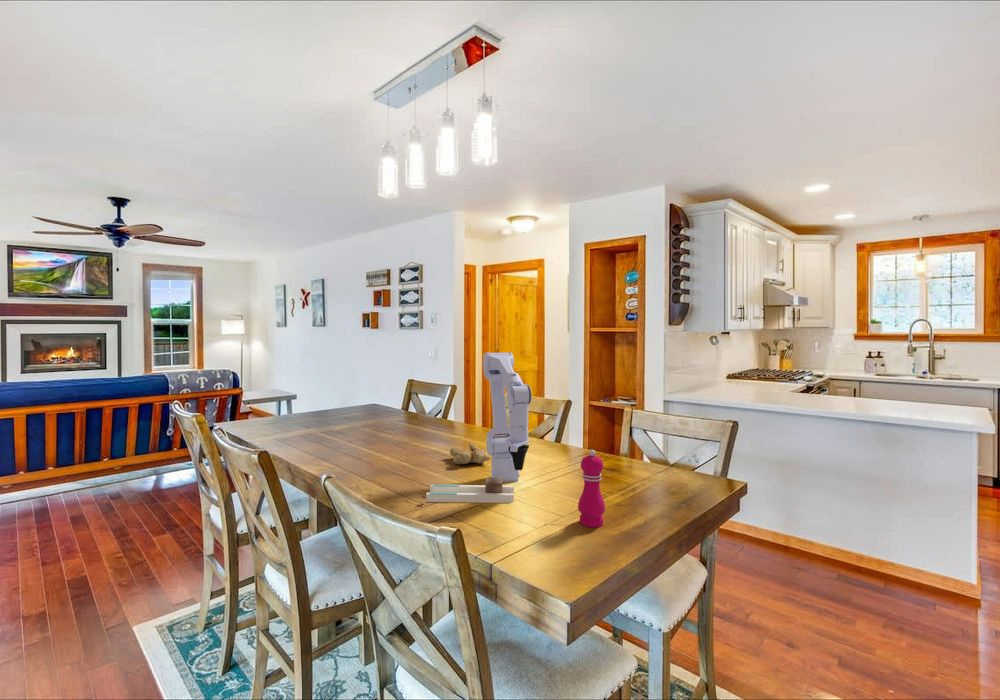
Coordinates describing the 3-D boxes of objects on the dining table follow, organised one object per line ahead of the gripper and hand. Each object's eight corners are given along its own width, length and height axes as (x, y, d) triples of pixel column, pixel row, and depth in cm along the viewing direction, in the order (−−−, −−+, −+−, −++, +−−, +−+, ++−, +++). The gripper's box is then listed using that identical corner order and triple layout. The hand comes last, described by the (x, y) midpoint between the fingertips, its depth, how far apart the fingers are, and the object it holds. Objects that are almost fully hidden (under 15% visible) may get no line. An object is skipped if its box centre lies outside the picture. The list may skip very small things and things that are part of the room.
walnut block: (502, 493, 156) (502, 478, 156) (502, 499, 151) (502, 483, 151) (486, 493, 156) (486, 477, 156) (485, 499, 151) (485, 483, 151)
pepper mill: (586, 515, 141) (587, 445, 140) (609, 522, 137) (610, 449, 135) (572, 523, 136) (573, 450, 134) (596, 530, 131) (597, 454, 130)
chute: (513, 494, 159) (513, 484, 158) (513, 505, 149) (513, 495, 148) (431, 493, 159) (431, 483, 159) (425, 504, 149) (425, 494, 149)
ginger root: (490, 465, 186) (485, 444, 186) (449, 475, 186) (443, 454, 186) (492, 455, 202) (487, 436, 201) (454, 465, 202) (449, 445, 202)
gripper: (511, 420, 160) (511, 462, 161) (499, 429, 146) (499, 475, 147) (533, 421, 159) (533, 463, 159) (523, 430, 144) (523, 477, 145)
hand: (518, 469), depth 153 cm, fingers closed
